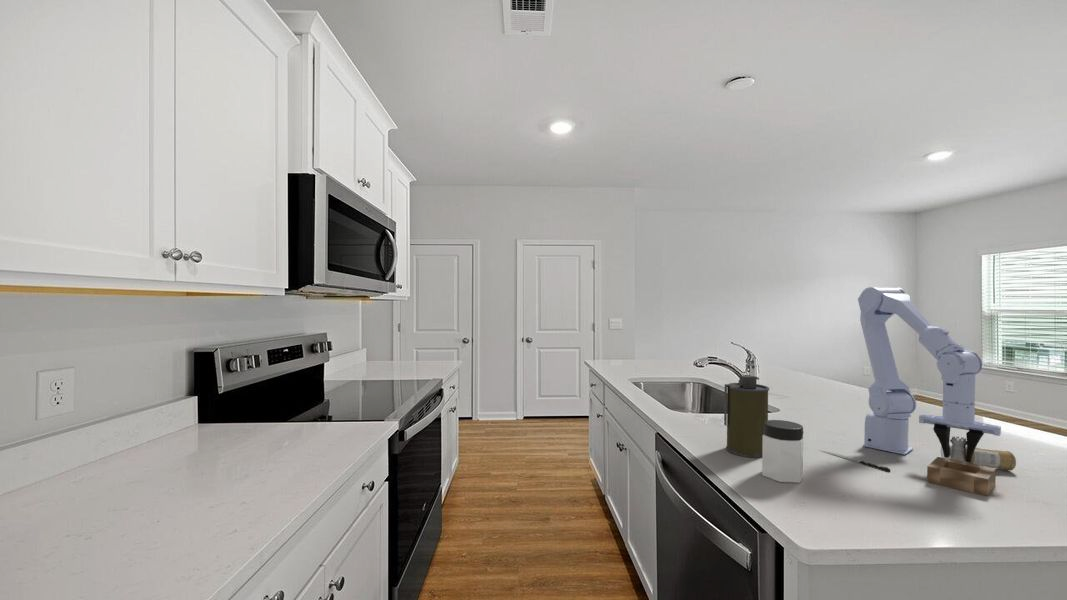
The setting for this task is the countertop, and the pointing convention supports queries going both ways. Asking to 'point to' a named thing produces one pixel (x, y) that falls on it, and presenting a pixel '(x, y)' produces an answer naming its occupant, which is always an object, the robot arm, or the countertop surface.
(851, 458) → the chef's knife
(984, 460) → the sprinkles bottle
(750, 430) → the canister
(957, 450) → the rook chess piece
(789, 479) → the jar
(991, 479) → the bore block
